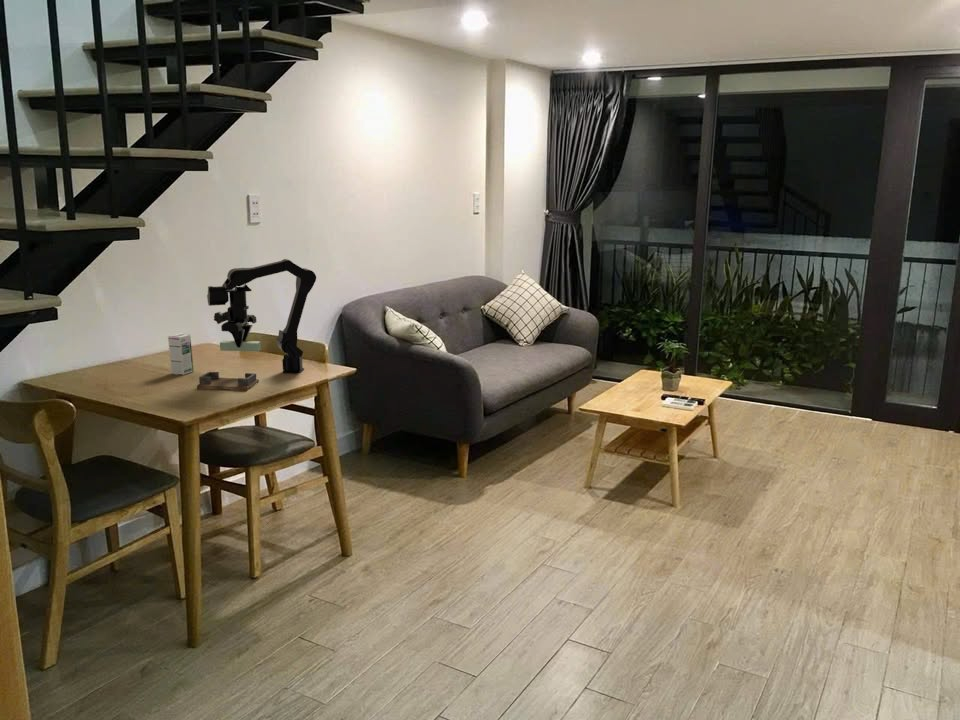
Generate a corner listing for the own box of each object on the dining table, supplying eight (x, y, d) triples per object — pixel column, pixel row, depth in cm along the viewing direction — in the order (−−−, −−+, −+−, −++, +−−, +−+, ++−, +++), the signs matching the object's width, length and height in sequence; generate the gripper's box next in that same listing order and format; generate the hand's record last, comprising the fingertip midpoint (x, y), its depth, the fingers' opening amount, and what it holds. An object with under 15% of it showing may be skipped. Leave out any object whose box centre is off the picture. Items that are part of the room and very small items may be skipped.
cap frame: (258, 382, 288) (258, 372, 287) (247, 390, 277) (246, 380, 277) (210, 380, 290) (209, 370, 289) (197, 388, 279) (196, 378, 278)
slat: (261, 349, 295) (260, 341, 294) (258, 351, 292) (257, 343, 291) (223, 348, 296) (223, 340, 295) (220, 350, 293) (219, 342, 292)
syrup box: (183, 375, 297) (180, 336, 293) (170, 373, 299) (167, 335, 295) (193, 371, 302) (191, 333, 298) (181, 370, 304) (178, 332, 300)
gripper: (226, 299, 300) (229, 340, 303) (205, 307, 282) (208, 351, 285) (255, 300, 299) (258, 341, 302) (236, 308, 281) (239, 352, 284)
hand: (240, 346), depth 293 cm, fingers closed on slat, 3 cm apart
